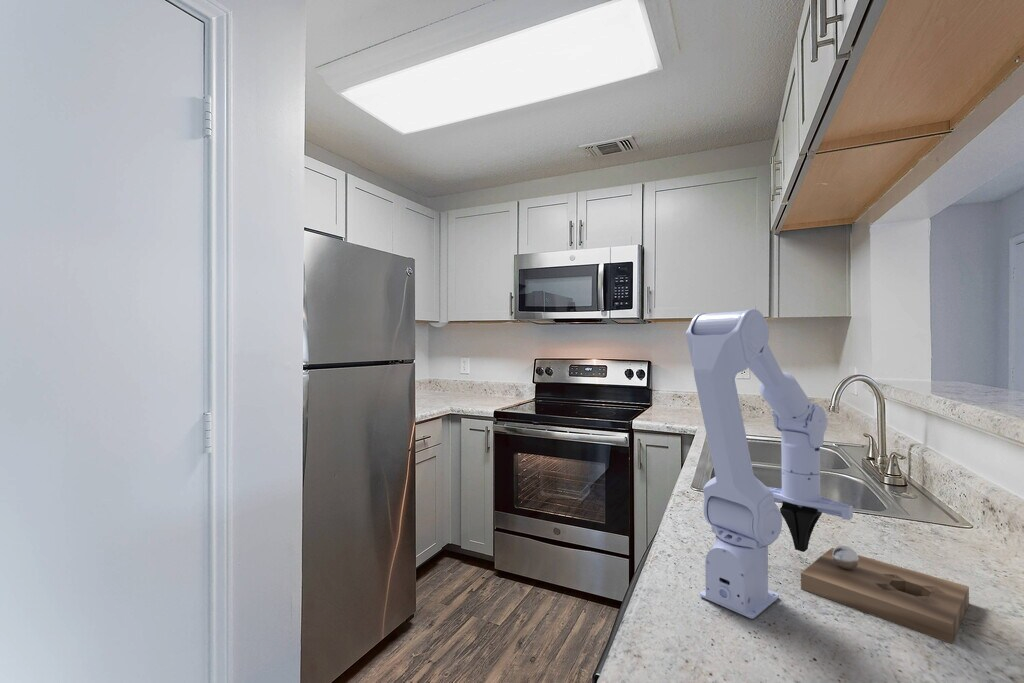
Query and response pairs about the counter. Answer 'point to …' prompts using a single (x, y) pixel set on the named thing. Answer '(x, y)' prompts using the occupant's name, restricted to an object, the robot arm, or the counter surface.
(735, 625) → the counter surface
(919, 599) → the walnut plate
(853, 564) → the steel ball
